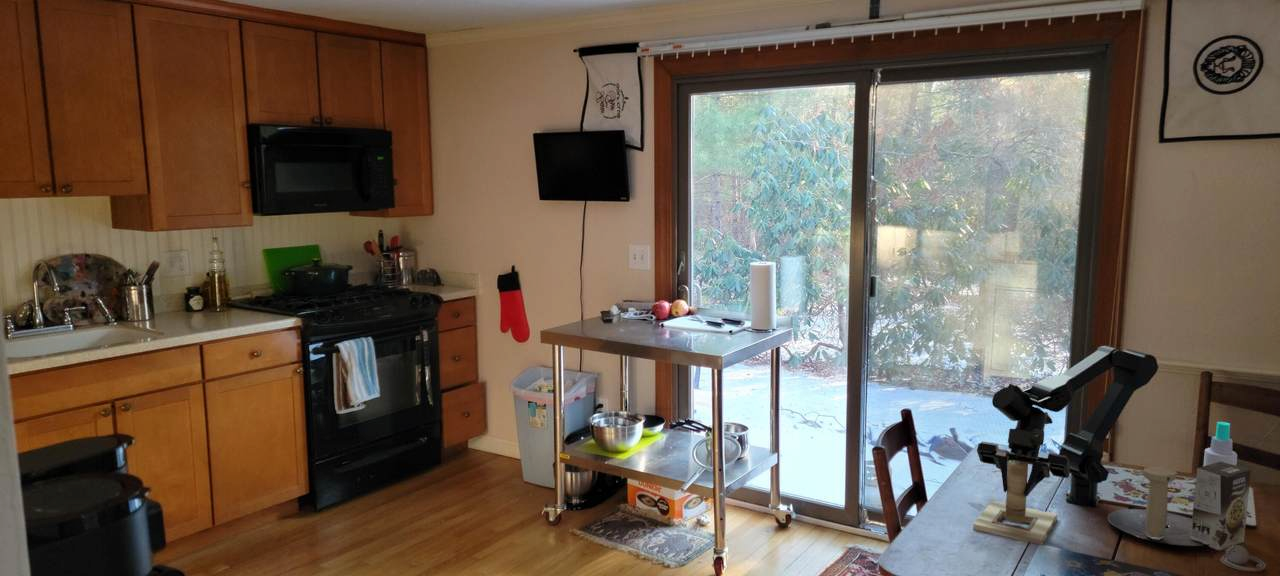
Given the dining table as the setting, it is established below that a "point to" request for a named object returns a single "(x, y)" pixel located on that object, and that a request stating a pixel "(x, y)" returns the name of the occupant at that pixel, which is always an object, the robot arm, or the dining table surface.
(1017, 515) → the peg
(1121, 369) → the robot arm
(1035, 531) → the socket board
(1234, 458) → the white bottle turquoise cap
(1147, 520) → the handle
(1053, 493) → the dining table surface
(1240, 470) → the grey upright rectangular box
